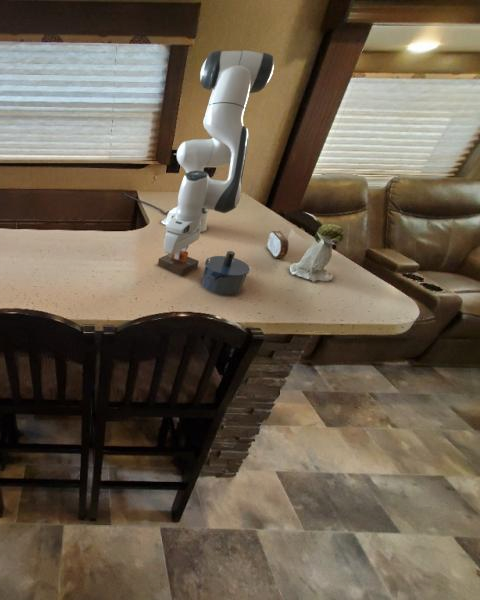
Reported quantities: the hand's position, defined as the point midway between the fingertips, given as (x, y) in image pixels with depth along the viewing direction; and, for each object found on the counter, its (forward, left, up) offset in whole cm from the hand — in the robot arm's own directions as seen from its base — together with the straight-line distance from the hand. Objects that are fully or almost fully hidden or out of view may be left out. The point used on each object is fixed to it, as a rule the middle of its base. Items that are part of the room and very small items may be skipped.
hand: (179, 257), depth 111 cm
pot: (+18, 0, -4) cm, 18 cm away
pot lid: (+18, 0, +3) cm, 18 cm away
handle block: (0, 0, -4) cm, 4 cm away
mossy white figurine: (+34, +32, -4) cm, 47 cm away
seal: (0, 0, -1) cm, 1 cm away
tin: (+18, +40, -4) cm, 44 cm away
